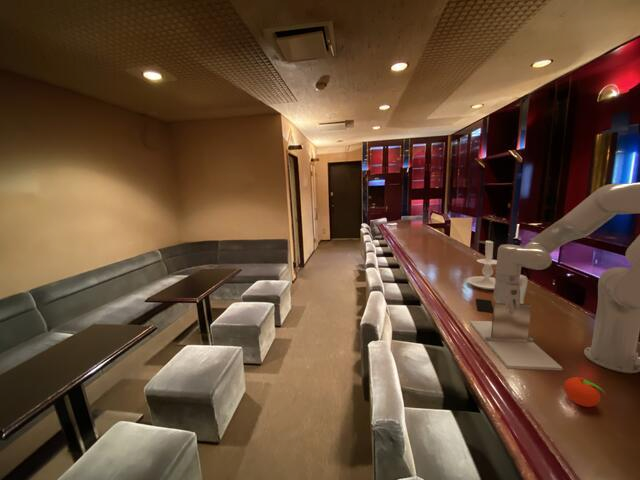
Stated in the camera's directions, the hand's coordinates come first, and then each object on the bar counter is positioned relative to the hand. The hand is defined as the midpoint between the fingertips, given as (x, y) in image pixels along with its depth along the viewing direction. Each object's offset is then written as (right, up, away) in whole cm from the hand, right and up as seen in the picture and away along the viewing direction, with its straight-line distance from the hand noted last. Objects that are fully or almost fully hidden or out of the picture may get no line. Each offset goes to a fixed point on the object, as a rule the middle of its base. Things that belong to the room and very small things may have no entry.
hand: (502, 322), depth 101 cm
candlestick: (+29, +4, +52) cm, 59 cm away
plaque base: (0, -7, -2) cm, 8 cm away
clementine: (0, -13, -31) cm, 33 cm away
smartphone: (+11, -1, +29) cm, 31 cm away
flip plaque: (0, +2, -4) cm, 4 cm away
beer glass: (+26, 0, +28) cm, 38 cm away
